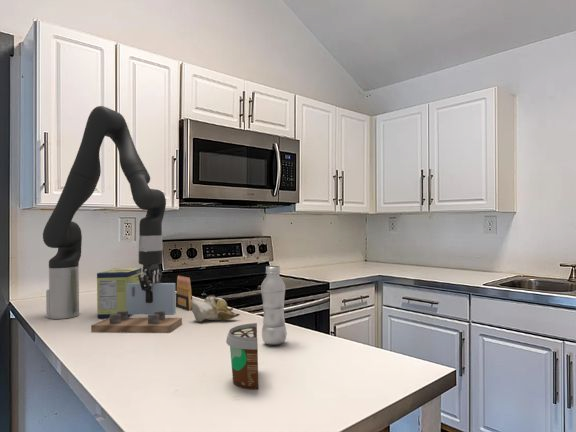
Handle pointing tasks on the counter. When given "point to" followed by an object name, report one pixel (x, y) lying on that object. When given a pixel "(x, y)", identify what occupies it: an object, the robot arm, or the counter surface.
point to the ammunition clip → (183, 293)
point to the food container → (244, 355)
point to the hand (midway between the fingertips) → (150, 301)
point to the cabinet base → (137, 323)
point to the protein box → (114, 290)
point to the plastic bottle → (273, 307)
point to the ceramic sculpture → (212, 309)
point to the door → (161, 299)
